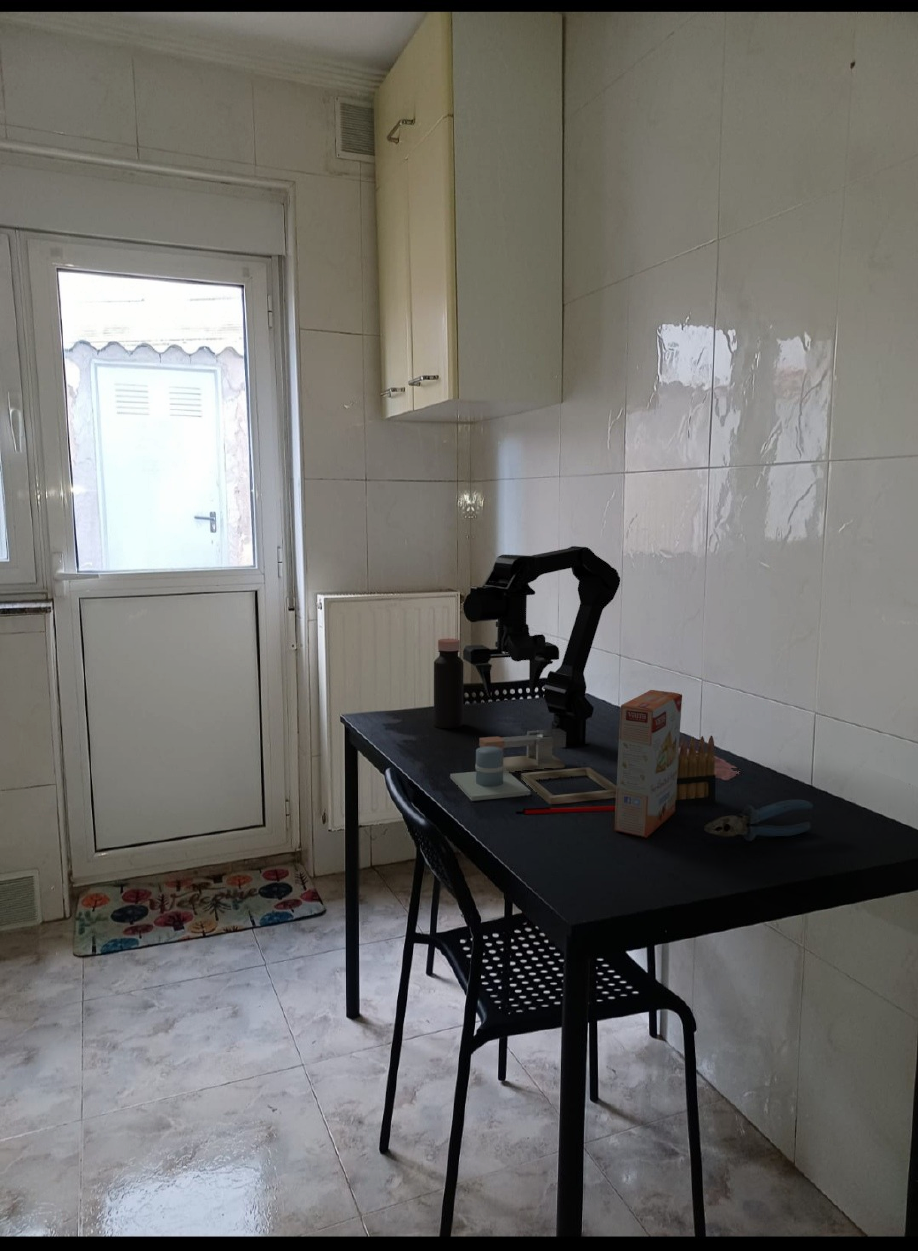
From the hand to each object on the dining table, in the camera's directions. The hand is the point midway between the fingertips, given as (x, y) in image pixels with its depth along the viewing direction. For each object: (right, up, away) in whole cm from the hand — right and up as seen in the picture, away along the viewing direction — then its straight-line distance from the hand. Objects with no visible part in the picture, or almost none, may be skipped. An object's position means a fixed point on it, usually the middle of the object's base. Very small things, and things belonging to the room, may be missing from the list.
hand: (510, 694), depth 178 cm
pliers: (+36, -20, -40) cm, 58 cm away
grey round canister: (-5, -15, -16) cm, 22 cm away
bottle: (-13, -9, +26) cm, 30 cm away
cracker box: (+20, -19, -33) cm, 43 cm away
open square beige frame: (+10, -16, -17) cm, 25 cm away
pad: (-5, -16, -16) cm, 23 cm away
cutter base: (+4, -14, -3) cm, 14 cm away
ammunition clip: (+29, -17, -24) cm, 42 cm away
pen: (+9, -18, -28) cm, 35 cm away
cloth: (+35, -14, 0) cm, 38 cm away
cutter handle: (+2, -10, -4) cm, 11 cm away
